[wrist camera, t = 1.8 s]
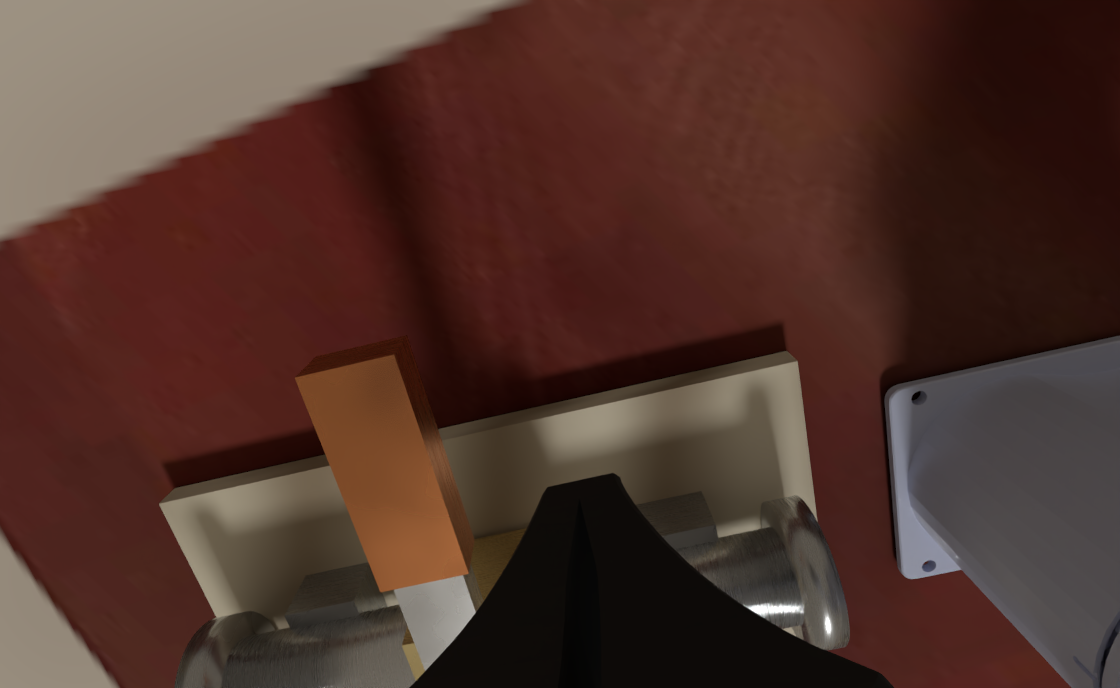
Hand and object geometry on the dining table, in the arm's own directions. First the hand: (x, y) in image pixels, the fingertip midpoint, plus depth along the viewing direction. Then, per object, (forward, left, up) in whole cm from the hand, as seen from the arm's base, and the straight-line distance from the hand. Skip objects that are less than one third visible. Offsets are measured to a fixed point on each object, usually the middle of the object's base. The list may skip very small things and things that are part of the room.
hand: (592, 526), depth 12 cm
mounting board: (+4, +8, -10) cm, 14 cm away
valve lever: (+4, +3, -3) cm, 6 cm away
